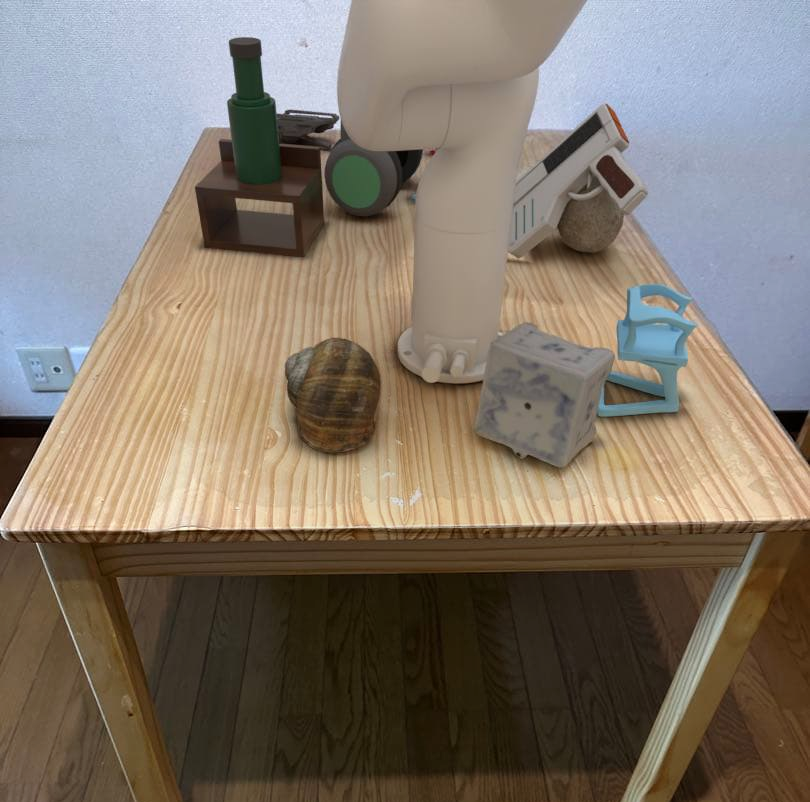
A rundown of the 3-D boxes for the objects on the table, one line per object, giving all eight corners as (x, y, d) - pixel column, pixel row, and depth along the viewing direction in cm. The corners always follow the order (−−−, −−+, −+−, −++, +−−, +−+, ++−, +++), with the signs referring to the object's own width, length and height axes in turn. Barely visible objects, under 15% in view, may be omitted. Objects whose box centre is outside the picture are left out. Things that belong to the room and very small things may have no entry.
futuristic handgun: (525, 299, 104) (494, 215, 110) (656, 198, 92) (614, 109, 98) (513, 293, 102) (482, 207, 108) (645, 188, 91) (603, 97, 96)
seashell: (292, 389, 82) (285, 319, 77) (381, 389, 82) (380, 320, 77) (282, 455, 74) (273, 383, 69) (380, 455, 74) (380, 383, 69)
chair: (679, 425, 79) (714, 316, 70) (596, 416, 80) (620, 307, 71) (674, 384, 84) (706, 278, 76) (596, 375, 85) (618, 270, 77)
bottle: (274, 186, 102) (261, 48, 91) (230, 182, 102) (211, 45, 92) (287, 170, 106) (276, 36, 95) (244, 166, 107) (229, 33, 96)
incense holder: (598, 435, 77) (621, 341, 70) (562, 479, 72) (582, 383, 65) (510, 402, 81) (523, 310, 74) (470, 442, 76) (479, 347, 69)
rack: (303, 257, 105) (297, 175, 98) (204, 247, 107) (191, 166, 99) (324, 224, 113) (320, 146, 105) (231, 215, 114) (220, 138, 107)
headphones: (361, 172, 127) (358, 28, 113) (426, 180, 125) (431, 34, 111) (321, 216, 114) (312, 60, 100) (393, 226, 112) (394, 67, 98)
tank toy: (314, 118, 128) (316, 153, 131) (344, 112, 135) (345, 145, 138) (254, 113, 133) (257, 147, 136) (286, 108, 140) (288, 140, 143)
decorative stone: (547, 233, 111) (558, 159, 104) (606, 234, 111) (621, 160, 104) (557, 265, 104) (569, 188, 97) (620, 266, 104) (637, 189, 97)
